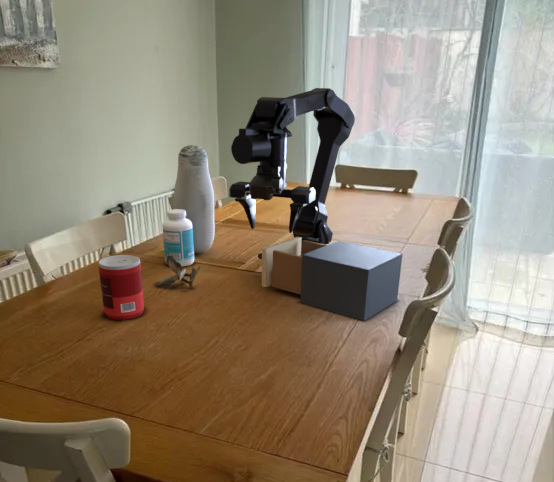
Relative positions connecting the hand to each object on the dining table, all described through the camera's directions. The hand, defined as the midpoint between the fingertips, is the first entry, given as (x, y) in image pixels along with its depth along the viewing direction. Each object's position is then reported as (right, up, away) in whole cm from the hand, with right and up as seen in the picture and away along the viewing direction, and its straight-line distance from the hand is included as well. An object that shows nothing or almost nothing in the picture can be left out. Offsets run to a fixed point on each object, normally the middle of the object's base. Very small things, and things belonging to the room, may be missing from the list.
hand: (271, 230), depth 125 cm
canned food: (-29, -19, -15) cm, 38 cm away
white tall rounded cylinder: (-21, -2, +25) cm, 33 cm away
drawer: (+6, -12, 0) cm, 14 cm away
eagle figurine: (-22, -13, 0) cm, 25 cm away
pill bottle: (-24, -6, +16) cm, 29 cm away
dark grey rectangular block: (+17, -17, -7) cm, 25 cm away
